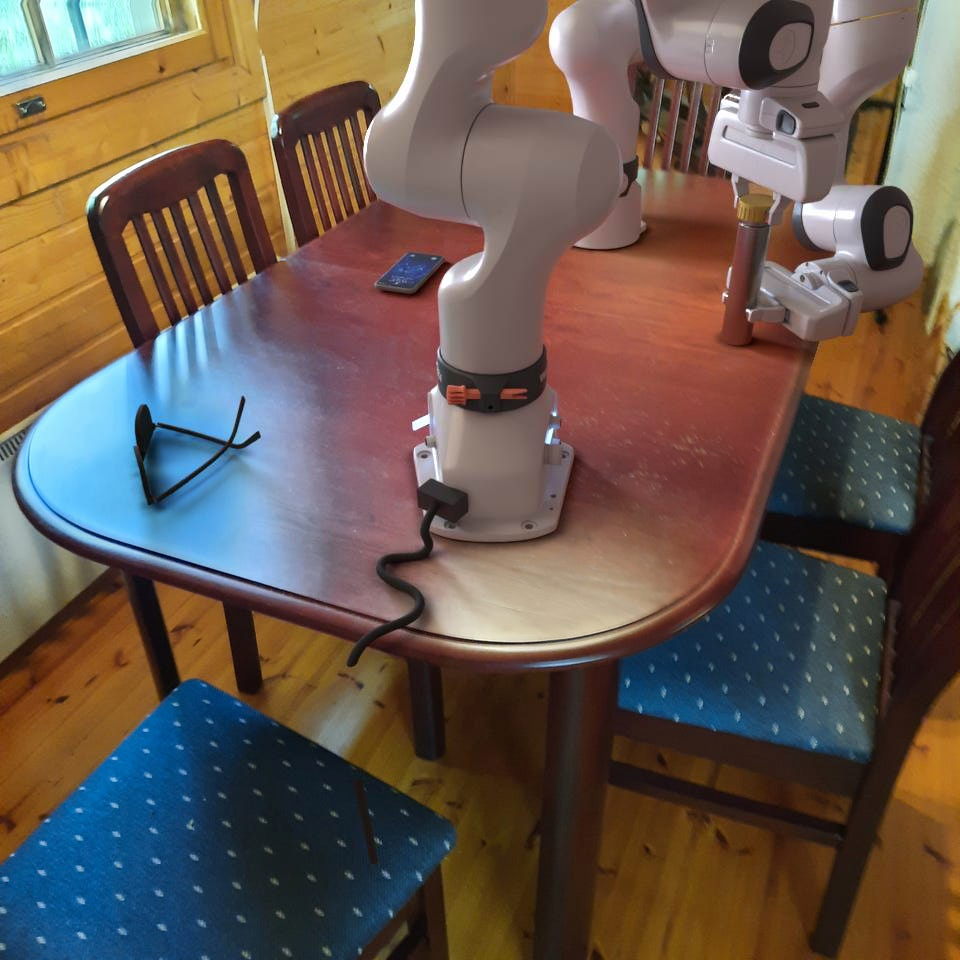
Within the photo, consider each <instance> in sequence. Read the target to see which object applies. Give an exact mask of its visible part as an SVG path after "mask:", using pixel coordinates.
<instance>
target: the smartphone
mask: <svg viewBox="0 0 960 960" xmlns="http://www.w3.org/2000/svg"><path fill="white" fill-rule="evenodd" d="M445 261H446V258H445V257H444V256H443V255H440V254H432V253H425V252H424V253H423V252H417V251H416V252H415V251H409V252H406V253H405V254H403V256H402V257H401V258H400V259H399V260H398V261H397V262H396V263H394V265H392V266H391V267H390V268H389V269H388V270H387V271H386V272H385V273H384V274H383V275H382V276H381V277H380V278H379V279H377V280H376V281H375V282H374V286H373V287H374V288H375V289H376V290H380V291H385V292H386V291H387V292H394V293H399V294H407V295H413V294H415V293H416V292H417V291H418V290H419V289H420V288H421V287H422V286H423V285H424V284H426V281H428V279H429V278H430V277H432V276H433V274H434V273H435V272H436V271H437V270H438V269H439V268H440V267H441V266H442V265H443V263H445Z"/></svg>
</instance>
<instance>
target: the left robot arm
mask: <svg viewBox="0 0 960 960" xmlns="http://www.w3.org/2000/svg"><path fill="white" fill-rule="evenodd" d="M414 1H415V32H414V33H415V34H414V43H413V49H412V54H411V58H410V61H409V62H410V63H409V65H408V68H407V72H406V74H405V76H404V79H403V81H402V82H401V85H400V87H399V88H398V90H397V92H395V94H394V96H393V97H391V99H390V100H389V101H388V102H386V104H385V105H383V106H382V107H381V108H380V109H379V111H377V113H376V114H375V115H374V116H373V119H372V121H371V122H370V124H369V127H368V128H367V131H366V134H365V139H364V143H363V155H362V156H363V167H364V172H365V176H366V178H367V181H368V184H369V185H370V188H371V189H372V191H373V193H374V194H375V195H376V196H377V198H378V199H379V200H381V201H382V202H385V203H386V204H389V205H392V206H394V207H396V208H398V209H401V210H404V211H406V212H407V213H411V214H414V215H416V216H418V217H421V218H426V219H433V220H437V221H438V220H439V221H445V222H450V223H455V224H463V225H469V226H475V227H477V228H481V229H482V232H483V235H484V243H483V244H484V245H483V251H479V252H477V253H473V254H472V255H469V256H467V257H465V258H462V259H461V260H459V261H458V262H455V263H454V264H453V265H452V266H451V267H450V268H449V269H448V270H447V271H446V273H445V274H444V275H443V277H442V278H441V281H440V284H439V287H438V290H437V305H438V306H437V307H438V324H439V326H438V327H439V342H440V343H439V344H440V345H439V346H438V348H437V354H436V356H437V358H436V363H435V364H436V376H437V384H436V385H435V387H434V386H433V388H432V389H431V390H430V391H428V392H427V406H428V407H427V409H428V414H427V415H425V416H422V417H420V418H418V419H416V420H414V421H412V430H413V431H417V430H418V429H420V428H422V427H425V426H426V425H428V424H429V435H426V436H425V438H424V442H422V443H419V444H417V445H416V446H415V447H414V448H413V454H412V455H413V457H412V458H413V464H414V470H415V475H416V476H415V477H416V480H417V488H416V500H417V508H419V509H420V510H422V516H423V518H422V520H421V523H420V529H419V533H420V538H421V540H422V542H423V547H422V548H421V549H419V550H416V551H412V552H396V553H395V552H394V553H388V554H385V555H383V556H381V557H380V558H379V559H378V560H377V563H376V565H375V566H376V567H375V571H376V574H377V576H378V577H379V579H381V581H383V582H384V583H386V584H388V585H389V586H392V587H393V588H396V589H397V590H400V591H401V592H404V593H405V594H407V595H409V596H410V597H411V598H412V599H413V600H414V607H413V608H412V609H411V611H409V612H408V613H406V614H404V615H403V616H400V617H398V618H396V619H393V620H390V621H388V622H385V623H384V624H381V625H379V626H377V627H374V628H372V629H371V630H370V631H368V632H367V633H365V634H364V635H363V636H362V637H361V638H360V639H359V640H358V641H357V642H356V643H355V645H354V646H353V647H352V649H351V651H350V653H349V655H348V658H347V660H346V667H348V668H354V667H356V665H357V664H358V662H359V660H360V659H361V656H362V655H363V653H364V651H365V650H366V649H367V648H368V647H369V646H370V645H371V644H372V643H374V642H375V641H376V640H378V639H380V638H381V637H383V636H385V635H387V634H390V633H392V632H395V631H397V630H400V629H403V628H405V627H408V626H409V625H411V624H412V623H414V622H416V621H417V620H418V619H419V618H420V617H421V615H422V614H423V612H424V609H425V605H426V602H425V601H426V600H425V597H424V596H423V593H422V591H420V590H419V588H417V587H416V586H414V585H413V584H411V583H409V582H407V581H405V580H403V579H401V578H399V577H397V576H394V575H393V574H392V573H390V572H388V571H387V570H386V568H387V565H389V564H391V563H392V564H393V563H408V562H416V561H420V560H423V559H425V558H426V557H427V556H429V554H431V552H432V551H433V549H434V540H433V538H432V536H431V533H432V534H434V535H437V536H440V537H443V538H448V539H452V540H457V541H466V542H477V543H478V542H480V543H500V542H501V543H502V542H503V543H506V542H518V541H527V540H531V539H536V538H539V537H543V536H546V535H548V534H550V533H552V532H554V531H556V530H557V527H558V525H559V520H560V518H561V517H560V516H561V512H562V508H563V504H564V500H565V497H566V492H567V488H568V483H569V480H570V476H571V472H572V469H573V468H572V467H573V464H574V459H575V450H574V447H573V446H571V445H570V444H568V443H566V442H563V441H561V439H560V438H558V430H560V429H561V428H562V416H559V392H557V391H556V390H555V389H554V388H553V387H552V386H551V385H550V384H549V383H548V382H547V379H548V367H549V361H548V356H547V355H548V354H547V353H548V351H547V347H546V345H545V344H544V332H545V331H544V330H545V329H544V328H545V316H546V303H547V296H548V290H549V286H550V281H551V279H552V276H553V273H554V272H555V269H556V267H557V266H558V264H559V263H560V261H561V259H562V258H563V257H564V255H565V254H566V253H567V252H568V251H569V250H570V249H571V248H572V247H574V246H573V245H574V244H576V243H577V242H578V241H580V240H581V239H583V238H584V237H586V236H588V235H589V234H591V233H593V232H594V231H595V230H597V229H598V228H599V227H600V226H601V225H602V224H603V223H604V222H605V221H606V220H607V218H608V217H609V216H610V214H611V213H612V211H613V210H614V208H615V206H616V204H617V201H618V199H619V196H620V193H621V189H622V184H623V161H622V156H621V152H620V149H619V147H618V144H617V142H616V140H615V138H614V136H613V135H612V133H611V132H610V130H609V129H608V128H607V127H605V126H603V125H601V124H598V123H595V122H592V121H590V120H587V119H584V118H582V117H578V116H575V115H573V114H572V113H569V112H566V111H563V110H555V109H548V108H547V109H546V108H539V107H538V108H537V107H528V106H517V105H508V104H499V103H497V102H494V99H493V81H494V75H495V72H496V70H497V69H499V68H501V67H504V66H506V65H507V64H509V63H511V62H512V61H514V60H516V59H518V58H519V57H520V56H522V55H524V54H525V53H526V52H528V51H529V50H530V49H532V47H534V45H536V43H537V42H538V40H539V39H540V37H541V35H542V33H543V31H544V29H545V27H546V23H547V20H548V17H549V0H414ZM634 1H635V5H636V10H637V16H638V34H639V46H640V51H641V55H642V57H643V62H644V64H645V66H646V68H647V70H648V71H649V72H650V73H651V74H652V75H653V76H654V77H656V78H658V79H661V80H669V81H690V82H695V83H700V84H704V85H705V84H706V85H710V86H716V87H722V88H723V87H725V88H729V89H735V90H730V91H729V92H728V93H727V94H726V95H724V97H723V98H722V99H721V101H720V105H719V110H718V112H717V113H716V115H715V117H714V118H715V119H714V122H713V126H712V129H711V134H710V139H709V143H708V149H707V156H708V160H709V163H710V164H711V165H713V166H715V167H718V168H721V169H723V170H725V171H727V172H729V173H731V180H730V181H731V185H732V190H733V194H734V201H733V202H734V203H733V208H734V209H735V210H737V209H738V203H739V200H740V197H742V196H744V195H747V194H750V189H749V188H750V187H749V182H751V183H754V184H756V185H758V186H760V187H763V188H765V189H767V190H769V191H772V192H773V195H772V196H773V200H776V201H775V203H774V204H773V206H772V208H771V209H767V210H765V214H764V216H765V217H764V219H763V221H764V223H766V224H768V225H770V226H772V227H777V226H780V225H781V224H782V222H783V218H784V213H785V211H786V210H787V209H788V207H789V206H790V205H791V204H792V202H793V201H794V202H795V201H796V202H798V203H801V204H808V203H814V202H818V201H822V200H823V199H824V198H825V197H826V196H827V195H828V194H829V192H830V190H831V187H832V183H833V179H834V174H835V169H836V164H837V158H838V141H837V138H836V137H835V135H834V134H833V133H838V132H840V131H841V130H842V128H843V125H844V120H845V117H844V115H843V113H842V112H841V111H840V110H839V109H837V108H836V107H835V106H834V105H833V104H832V103H831V102H830V101H829V100H828V99H827V98H826V97H825V96H824V95H823V93H822V92H821V91H819V90H818V85H819V80H820V65H821V58H822V55H823V49H824V47H825V45H826V42H827V39H828V35H829V29H830V26H831V25H832V24H831V18H832V12H833V5H834V0H634ZM736 90H740V92H739V91H736ZM352 782H353V786H354V793H355V798H356V802H357V808H358V813H359V817H360V823H361V826H362V832H363V837H364V841H365V847H366V852H367V856H368V857H367V858H368V862H370V863H371V864H373V865H374V864H376V863H377V862H378V863H379V859H378V851H377V846H376V840H375V835H374V831H373V826H372V822H371V817H370V812H369V811H370V810H369V806H368V801H367V796H366V795H367V794H366V790H365V784H364V778H363V777H360V778H357V779H354V780H353V781H352ZM370 863H369V864H370Z"/></svg>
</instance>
